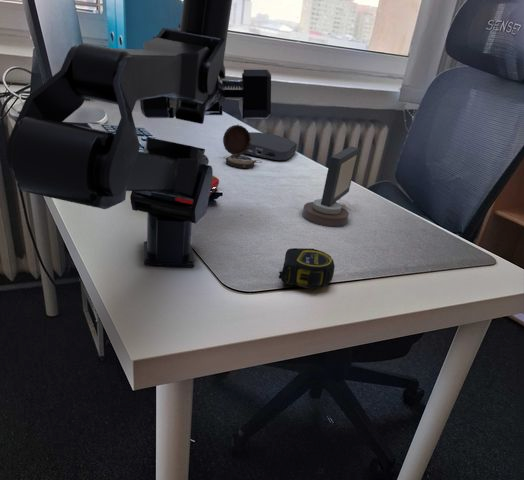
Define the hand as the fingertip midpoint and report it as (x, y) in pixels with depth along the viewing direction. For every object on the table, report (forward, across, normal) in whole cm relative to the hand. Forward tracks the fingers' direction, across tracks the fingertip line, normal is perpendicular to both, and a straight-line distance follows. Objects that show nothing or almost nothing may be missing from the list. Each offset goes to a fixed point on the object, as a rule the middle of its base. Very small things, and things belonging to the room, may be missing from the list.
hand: (212, 101), depth 81 cm
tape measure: (-22, -13, +24) cm, 36 cm away
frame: (+6, -21, +16) cm, 27 cm away
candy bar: (+3, +3, +15) cm, 16 cm away
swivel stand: (+4, -19, +18) cm, 27 cm away
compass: (+29, -4, +9) cm, 31 cm away
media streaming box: (+43, -8, +6) cm, 44 cm away
